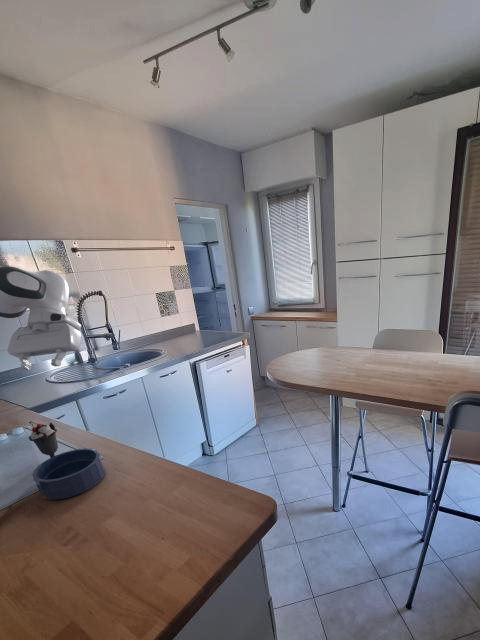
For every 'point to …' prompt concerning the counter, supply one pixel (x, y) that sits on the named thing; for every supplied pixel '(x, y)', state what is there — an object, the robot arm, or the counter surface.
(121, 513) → the counter surface
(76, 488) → the basin
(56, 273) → the robot arm
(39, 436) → the sundae
